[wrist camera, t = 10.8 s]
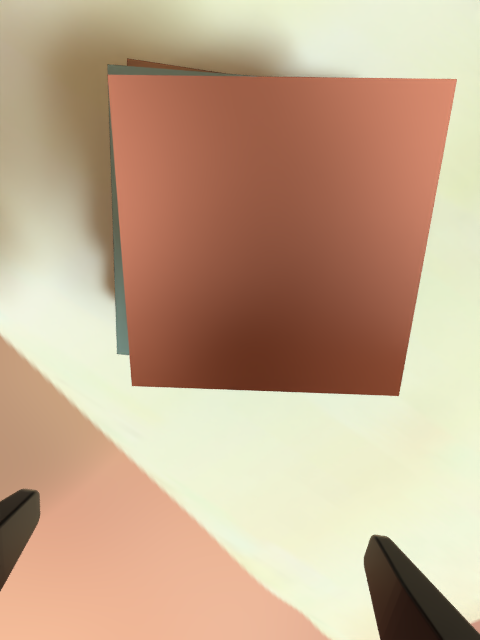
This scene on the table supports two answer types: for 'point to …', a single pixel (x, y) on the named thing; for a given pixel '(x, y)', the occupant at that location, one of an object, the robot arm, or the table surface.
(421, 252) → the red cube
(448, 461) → the table surface
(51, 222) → the table surface
